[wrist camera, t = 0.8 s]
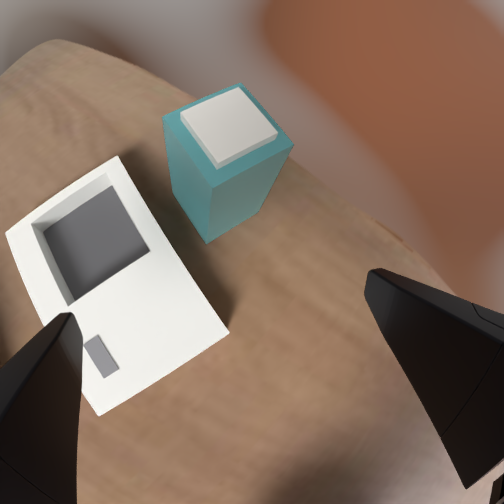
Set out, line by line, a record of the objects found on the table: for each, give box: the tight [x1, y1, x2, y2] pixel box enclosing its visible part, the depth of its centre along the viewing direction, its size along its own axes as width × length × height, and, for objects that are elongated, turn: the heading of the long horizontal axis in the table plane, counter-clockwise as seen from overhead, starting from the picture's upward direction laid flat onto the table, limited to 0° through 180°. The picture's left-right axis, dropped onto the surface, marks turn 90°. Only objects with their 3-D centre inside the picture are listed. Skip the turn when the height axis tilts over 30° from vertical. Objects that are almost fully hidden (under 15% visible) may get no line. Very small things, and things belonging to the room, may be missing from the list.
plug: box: [162, 83, 294, 244], centre depth 18 cm, size 4×4×10 cm
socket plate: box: [5, 156, 229, 416], centre depth 19 cm, size 14×10×3 cm
